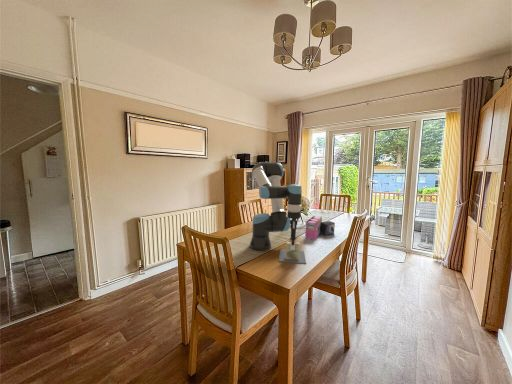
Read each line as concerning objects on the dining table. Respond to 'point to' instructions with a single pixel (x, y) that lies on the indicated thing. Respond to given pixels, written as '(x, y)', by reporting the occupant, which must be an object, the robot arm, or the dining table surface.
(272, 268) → the dining table surface
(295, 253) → the wooden block
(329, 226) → the small box
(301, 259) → the mat
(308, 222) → the gum box
